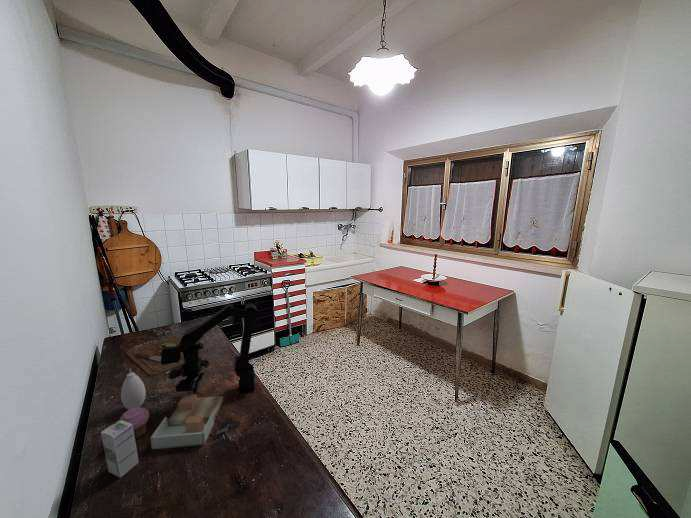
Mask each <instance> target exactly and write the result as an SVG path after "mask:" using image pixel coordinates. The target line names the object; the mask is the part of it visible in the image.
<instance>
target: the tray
mask: <svg viewBox="0 0 691 518" xmlns="http://www.w3.org/2000/svg"><path fill="white" fill-rule="evenodd" d="M214 425H215V420H214V415H213V413H212V414H211V416H210V418H209V420H208V422H207V423H204V429H203V431H202V432H198V433H186V431H185V425H179V426H169V425H168V417H167V416H165V417H164V418H163V419H162V421H161V422H160V423H159V425H158V426H157V428H156V429H155V431H154V432H153V434H152V435H151V436H150V438H149V439H150V445H151V450H152V451H153V450H161V449H172V448H184V447H192V446H193V447H194V446H203V445H204V446H205V445H206V443H207V440H208V438H209V437H210V434H211V431H212V429H213V428H214Z"/></svg>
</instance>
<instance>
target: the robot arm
mask: <svg viewBox="0 0 691 518" xmlns="http://www.w3.org/2000/svg"><path fill="white" fill-rule="evenodd" d="M230 317H234V318H239V319H243V328H242V336H241V343H240V349H239V350H240V351H239V354H238V355H235V356H234V363H233V372H235V375H236V377H238V378H239V379H238V389H239V394H240V393H252V392H255V389H256V387H257V384H258V382H257V380H256V372H255V368H254V365H253V364H252V363H250V359H249V356H250V355H249V354H250V348H251V342H252V341H251V340H252V336H253V335H252V334H253V327H254V325H255V323H256V319H257V317H258V309H257V306H256V305H255V304H254V303H252V302H251V303H250V302H249V303H247V304H246V303H238V304H233V303H231V304H230V303H229V304H227V305H225V306H224V307H223V308H221V309H220V310H219V311H217V312H216V313H214V314H212V315H211V316H210V317H208V318H207V319H206V320H205V319H204V320H203V322H201V323H199V324H197V325H193V326H191V327H189V328H187V329H185V330H184V332H182V333H183V334H182V336H181V337H180V338H181V341H180V342H179V344H178V346H173V347H163V348H162V354H161V364H162V365H166V364H172V363H177V362H179V359H182V352H183V356H184V364H181V365H178V366H176V367H174V368H173V369H171V370H169V371H170V372H169V371H168V372H169V373H168V379H170V380H175V379H176V378H179V377H182V378H185V379H180V381H178V382H177V384H176V385H175V387H174V388H175V392H176V393H181V392H182V393H183V392H192V393H193V394H198V390H199V387H200V384H201V382H202V379H203V377H204V375H205V372H202V371H203V367H204V368H205V369H208V368H209V366H210V362H209V360H208V359H203V357H200V356H199V349H200V350H202V349H204V346H205V345H204V343H202V342H201V341H200V340H201V339H202V338H203V337H204V335H206V334H207V332H209V331H210V330H212V329H213V328H214V327H217V326H218V325H219V324H220V323H222V322H223V321H224V320H226V319H228V318H230Z"/></svg>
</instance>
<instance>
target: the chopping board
mask: <svg viewBox="0 0 691 518" xmlns="http://www.w3.org/2000/svg"><path fill="white" fill-rule="evenodd" d="M169 337H171V338H169ZM173 337H175V338H177V339H178V340H180V341H181V338H182V337H180V336H178V335H169V336H167V337H165V338H163V337H162V338H163V339H160V338H159V339H160V340H157V339H155V340H157V341H155V340H151V341H148V342H145V343H141V344H139V345H136V346H134V347H132V348H130V349H128V350H126V351H125V355H126V356H128V357H129V359H131V361H133V362H134V363H135V364H136V365H137V366H138V368H140V369H141V370H142V371H144V373H146V374H147V375H148V376H149V377H153V376H159V375H161V374H165V375H169V372H170V371H171V370H172V369H173V368H174V367H176V366H178V365H181V364H184V356H183V352H182V359H179V362H177V363H172V364H166V365H162V364H161V354H162V348H163V347H173V346H178V344H179V341H178V340H176V339H174V338H173ZM167 338H168V339H167ZM164 339H165V340H164ZM152 341H154V342H152ZM149 342H151V343H149ZM146 343H148V344H146ZM143 344H145V345H143ZM204 355H205V352H204V351H203V350H202V349H199V356H200V358H202V357H203V356H204ZM201 356H202V357H201Z"/></svg>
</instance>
